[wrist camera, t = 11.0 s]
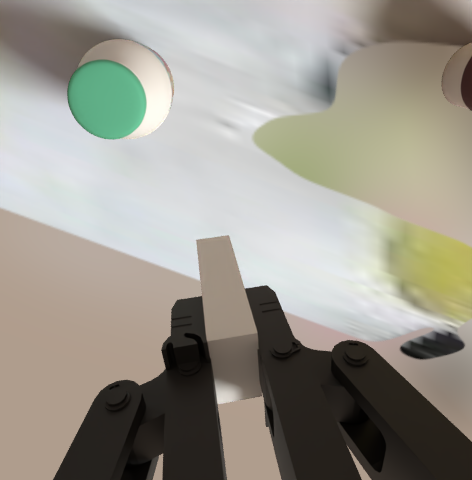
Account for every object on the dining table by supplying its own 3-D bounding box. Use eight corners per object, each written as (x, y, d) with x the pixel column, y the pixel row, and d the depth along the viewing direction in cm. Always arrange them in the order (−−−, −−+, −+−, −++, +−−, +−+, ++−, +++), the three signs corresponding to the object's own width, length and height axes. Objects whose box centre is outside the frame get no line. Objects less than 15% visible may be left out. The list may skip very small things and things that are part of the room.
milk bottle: (108, 121, 40) (53, 167, 22) (96, 44, 37) (19, 26, 19) (176, 119, 41) (175, 162, 23) (171, 44, 38) (164, 28, 20)
